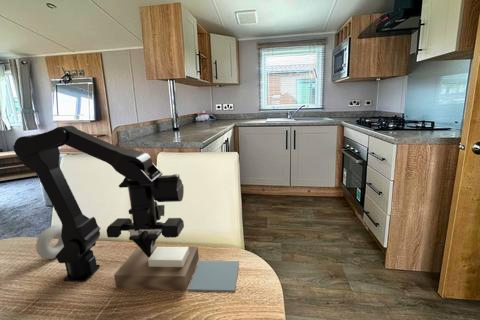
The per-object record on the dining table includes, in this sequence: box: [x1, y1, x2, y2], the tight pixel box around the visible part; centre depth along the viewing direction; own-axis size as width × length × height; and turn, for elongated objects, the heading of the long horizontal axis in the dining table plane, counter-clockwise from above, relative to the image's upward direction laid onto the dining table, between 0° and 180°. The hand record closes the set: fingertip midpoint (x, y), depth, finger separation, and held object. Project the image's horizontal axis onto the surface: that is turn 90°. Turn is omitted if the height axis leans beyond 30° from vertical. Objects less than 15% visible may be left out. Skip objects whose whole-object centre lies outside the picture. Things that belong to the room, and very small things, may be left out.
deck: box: [113, 245, 200, 291], centre depth 70 cm, size 18×13×4 cm
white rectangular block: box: [148, 246, 190, 267], centre depth 69 cm, size 9×6×2 cm, turn 85°
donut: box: [35, 224, 64, 260], centre depth 79 cm, size 10×3×10 cm, turn 161°
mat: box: [187, 260, 240, 293], centre depth 68 cm, size 12×12×1 cm
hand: (150, 256), depth 69 cm, fingers closed
